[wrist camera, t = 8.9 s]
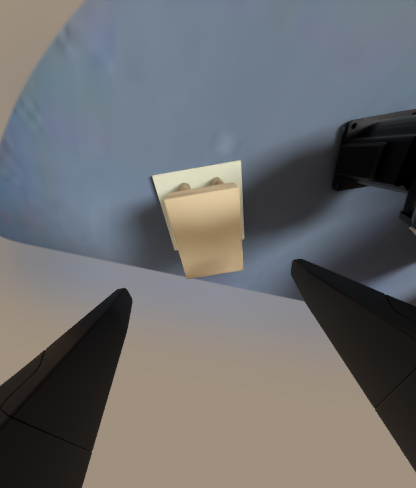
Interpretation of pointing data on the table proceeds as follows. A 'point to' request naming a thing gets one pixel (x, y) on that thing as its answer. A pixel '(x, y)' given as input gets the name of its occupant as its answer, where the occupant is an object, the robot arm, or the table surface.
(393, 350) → the robot arm
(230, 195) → the tan block with pegs
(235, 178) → the mat
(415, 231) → the box
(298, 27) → the table surface
